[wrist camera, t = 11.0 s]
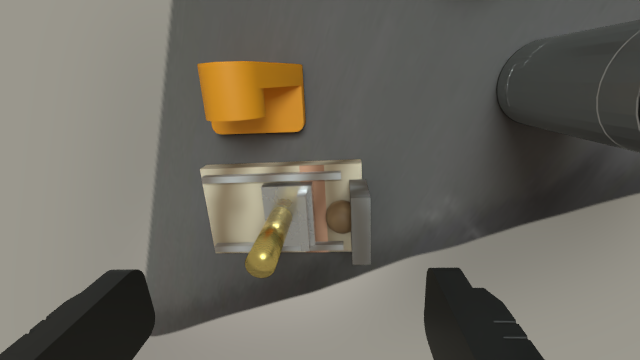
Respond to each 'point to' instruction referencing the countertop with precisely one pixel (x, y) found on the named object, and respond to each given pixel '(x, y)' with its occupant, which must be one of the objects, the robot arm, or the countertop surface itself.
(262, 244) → the handle
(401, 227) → the countertop surface
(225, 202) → the board
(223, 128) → the bracket
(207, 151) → the countertop surface
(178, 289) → the countertop surface
